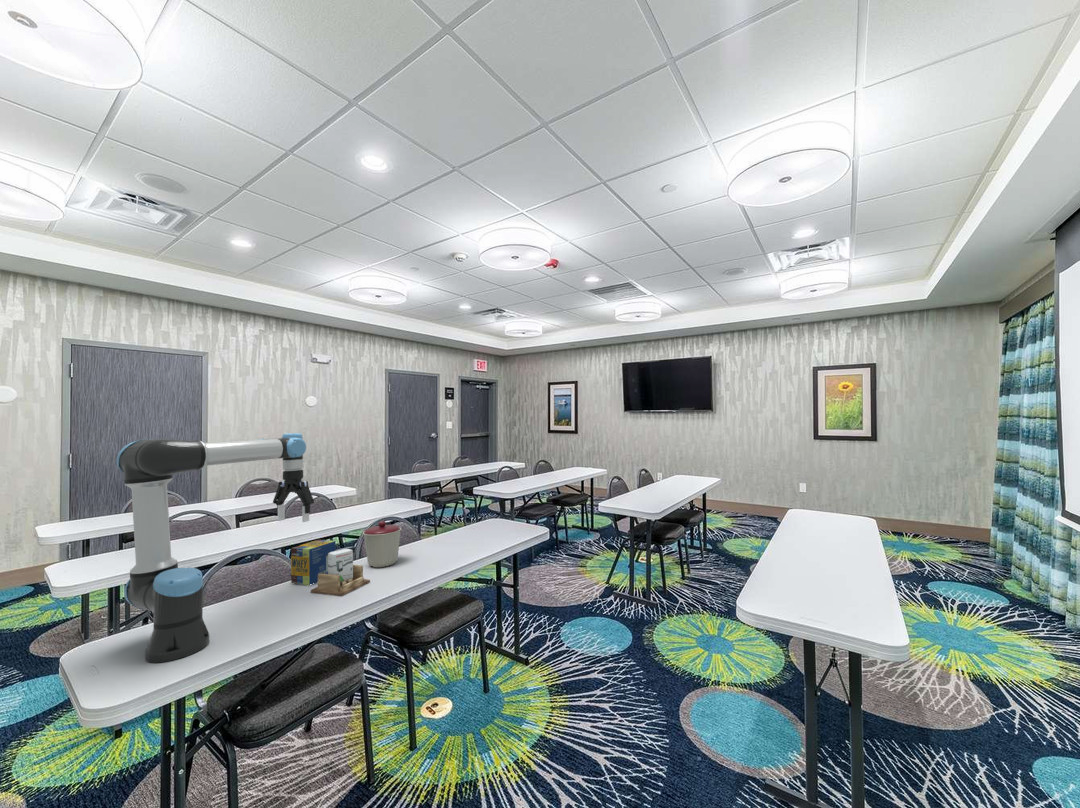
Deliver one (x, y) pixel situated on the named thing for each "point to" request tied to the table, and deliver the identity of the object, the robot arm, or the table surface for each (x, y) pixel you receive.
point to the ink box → (341, 563)
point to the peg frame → (340, 583)
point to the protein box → (310, 561)
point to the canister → (382, 544)
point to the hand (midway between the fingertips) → (293, 521)
